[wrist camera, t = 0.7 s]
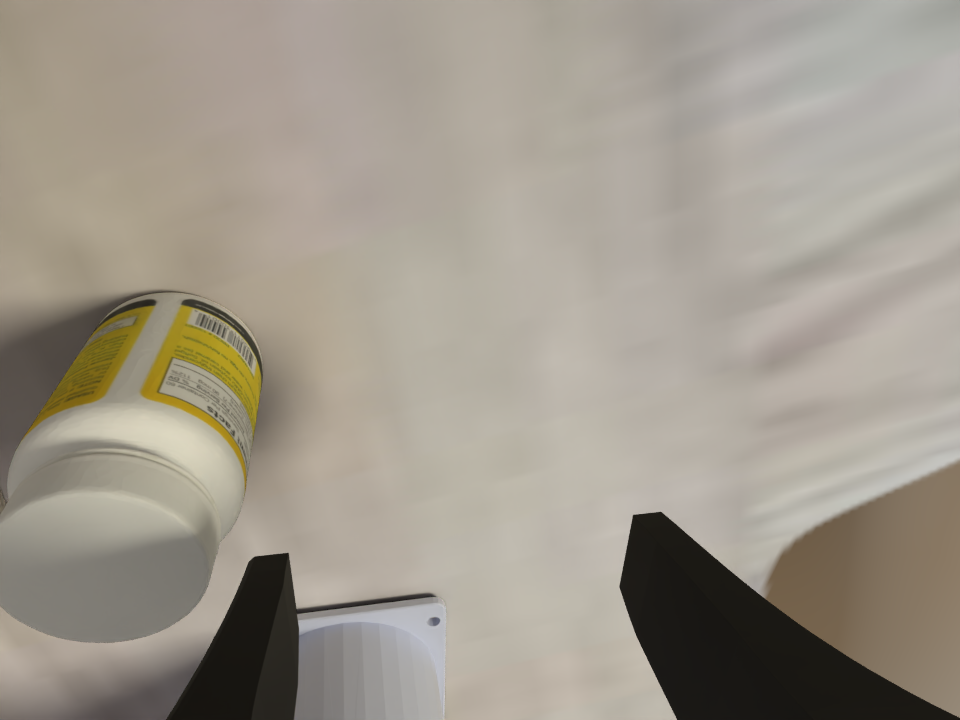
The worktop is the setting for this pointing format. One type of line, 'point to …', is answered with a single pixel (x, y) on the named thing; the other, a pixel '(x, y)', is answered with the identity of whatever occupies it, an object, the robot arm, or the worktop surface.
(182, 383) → the supplement bottle
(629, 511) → the worktop surface
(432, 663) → the robot arm
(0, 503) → the square frame with handle
